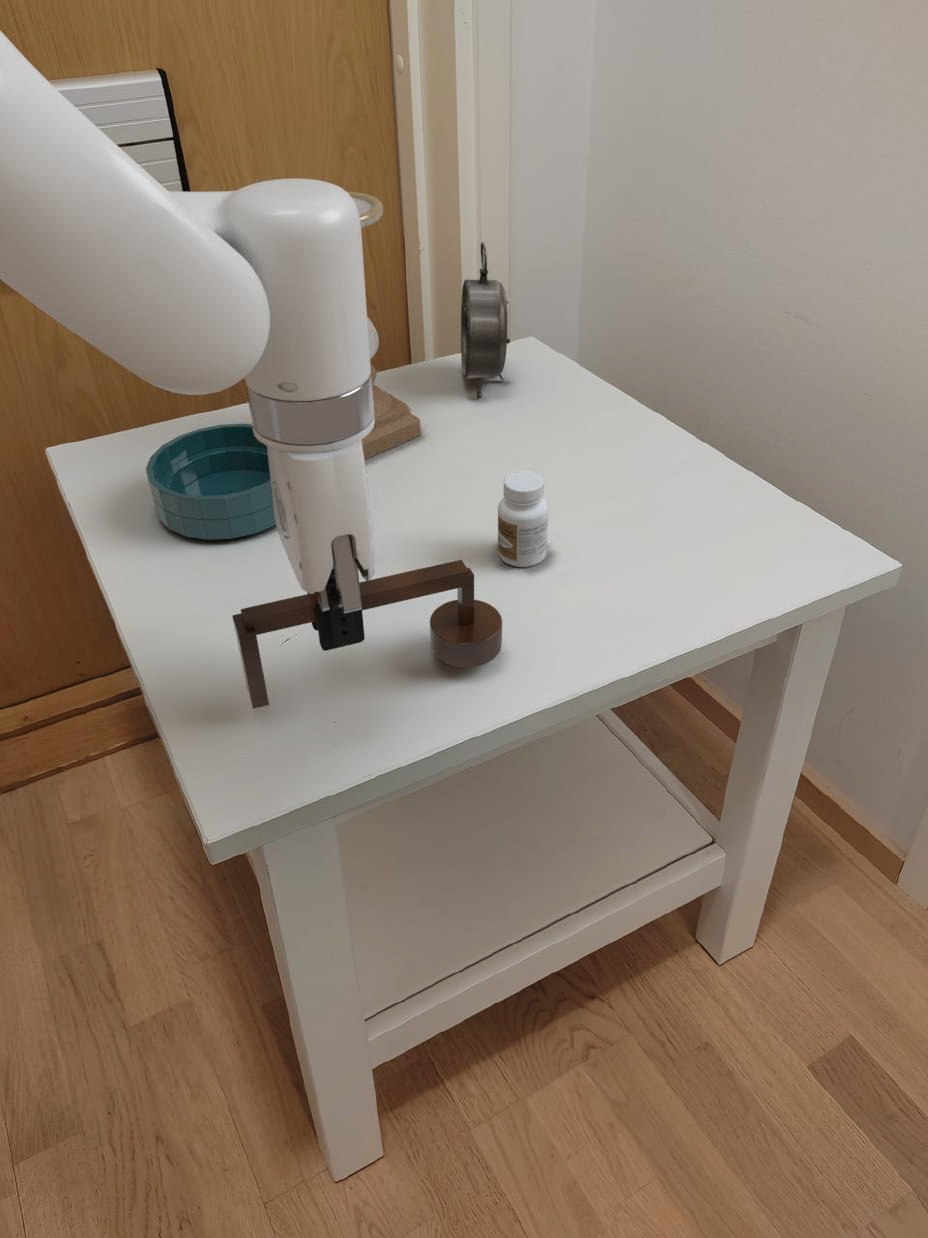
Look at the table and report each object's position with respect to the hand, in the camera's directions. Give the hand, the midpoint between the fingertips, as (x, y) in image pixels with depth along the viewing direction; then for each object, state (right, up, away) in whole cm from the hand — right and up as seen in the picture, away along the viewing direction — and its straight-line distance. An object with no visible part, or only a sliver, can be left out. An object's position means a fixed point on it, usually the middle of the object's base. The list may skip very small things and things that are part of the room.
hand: (338, 633), depth 70 cm
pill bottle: (+14, +7, +17) cm, 23 cm away
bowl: (-14, +12, +25) cm, 31 cm away
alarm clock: (+12, +29, +44) cm, 54 cm away
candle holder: (-3, +21, +35) cm, 41 cm away
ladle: (+3, -3, +3) cm, 5 cm away
